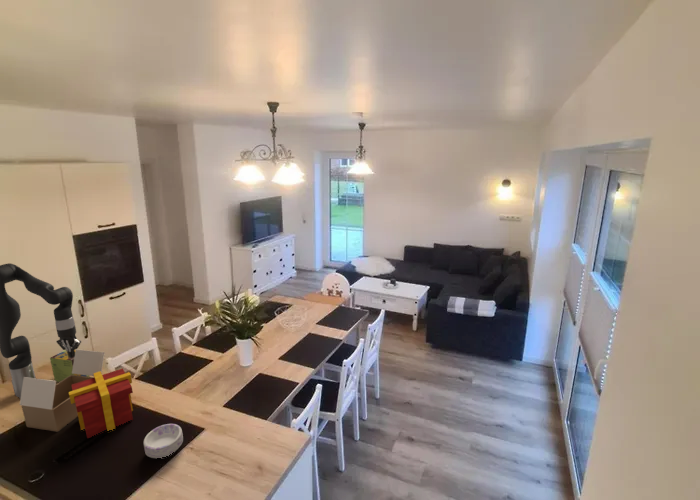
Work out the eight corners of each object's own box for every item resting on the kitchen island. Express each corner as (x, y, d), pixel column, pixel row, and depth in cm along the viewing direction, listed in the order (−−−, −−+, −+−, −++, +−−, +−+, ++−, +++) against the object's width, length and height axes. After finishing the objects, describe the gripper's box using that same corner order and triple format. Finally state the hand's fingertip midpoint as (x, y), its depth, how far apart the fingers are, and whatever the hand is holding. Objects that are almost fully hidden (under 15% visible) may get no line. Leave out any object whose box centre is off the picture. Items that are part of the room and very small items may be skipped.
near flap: (20, 404, 173) (19, 405, 173) (24, 377, 174) (23, 377, 174) (52, 409, 170) (51, 409, 169) (56, 380, 171) (55, 381, 171)
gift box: (79, 445, 164) (71, 406, 160) (74, 417, 183) (66, 381, 178) (141, 420, 180) (135, 384, 176) (130, 396, 199) (125, 363, 194)
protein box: (76, 384, 210) (71, 360, 206) (54, 381, 213) (49, 357, 209) (92, 374, 220) (87, 351, 216) (71, 371, 223) (66, 348, 219)
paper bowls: (145, 469, 152) (142, 453, 150) (146, 445, 165) (143, 430, 163) (185, 456, 159) (183, 440, 157) (182, 433, 172) (180, 419, 170)
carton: (26, 426, 176) (21, 405, 173) (75, 394, 201) (71, 374, 198) (57, 431, 173) (52, 409, 170) (103, 397, 198) (99, 378, 195)
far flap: (75, 349, 200) (76, 349, 201) (71, 373, 198) (72, 373, 199) (103, 352, 197) (104, 352, 198) (100, 376, 195) (100, 376, 196)
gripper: (47, 328, 182) (54, 359, 186) (70, 330, 180) (76, 362, 184) (61, 322, 189) (67, 352, 193) (83, 324, 187) (89, 354, 191)
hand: (72, 357), depth 188 cm, fingers closed
